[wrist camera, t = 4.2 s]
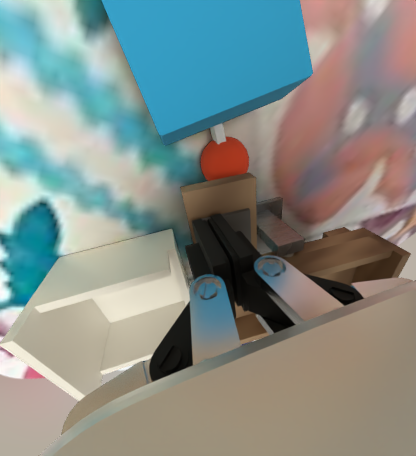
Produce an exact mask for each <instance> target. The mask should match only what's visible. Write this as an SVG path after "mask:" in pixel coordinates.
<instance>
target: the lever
mask: <svg viewBox="0 0 416 456" xmlns="http://www.w3.org/2000/svg"><path fill="white" fill-rule="evenodd" d="M102 3H103V5H104V7H105V10H106V12H107V14H108V17H109V19H110V21H111V24H112V26H113V28H114V31H115V33H116V35H117V38H118V40H119V42H120V45H121V47H122V49H123V52H124V54H125V56H126V59H127V61H128V63H129V66H130V68H131V70H132V73H133V75H134V77H135V80H136V82H137V84H138V87H139V89H140V91H141V94H142V96H143V98H144V101H145V103H146V105H147V108H148V110H149V112H150V114H151V117H152V119H153V121H154V124H155V126H156V128H157V131H158V133H159V135H160V138H161V140H162V142H163V144H164V145H165V146H166V145H169V144H171V143H174V142H176V141H179V140H181V139H184V138H186V137H189V136H191V135H193V134H196V133H198V132H201V131H203V130H206V129H208V128H210V131H211V135H212V139H213V141H211V142H210V143H209V144H208V145H207V146H206V147H205V149H204V150H203V153H202V155H201V161H200V163H201V169H202V173H203V175H204V176H205V178H206V179H207V180H208V181H211V180H216V179H221V178H225V177H230V176H235V175H239V174H244V173H247V170H248V167H249V156H248V153H247V150H246V148H245V147H244V146H243V144H242V143H241V142H240V141H238V140H237V139H235V138H232V137H225V133H224V128H223V122H225V121H228V120H230V119H233V118H235V117H238V116H240V115H243V114H245V113H248V112H250V111H253V110H255V109H258V108H260V107H262V106H265V105H267V104H270V103H272V102H275V101H277V100H280V99H282V98H283V97H284V96H286V95H287V94H288V93H290V92H291V91H292V90H293V89H295V88H296V87H297V86H299V85H300V84H301V83H302V82H304V81H305V80H306V79H308V78H309V77H310V76H311V75H312V74H313V70H312V65H311V59H310V54H309V49H308V43H307V38H306V32H305V27H304V21H303V16H302V10H301V5H300V0H102Z"/></svg>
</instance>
